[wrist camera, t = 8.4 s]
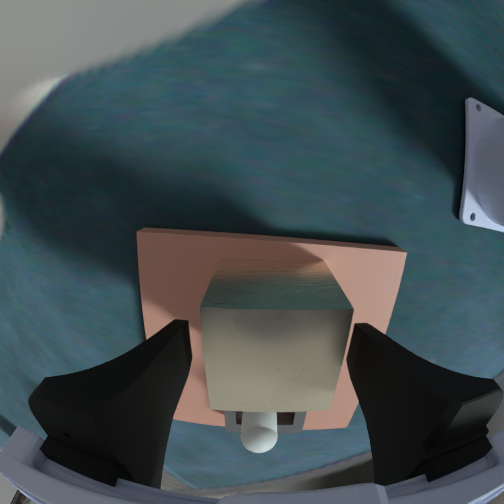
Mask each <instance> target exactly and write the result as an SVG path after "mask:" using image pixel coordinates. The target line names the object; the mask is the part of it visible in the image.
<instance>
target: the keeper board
mask: <svg viewBox="0 0 504 504" xmlns="http://www.w3.org/2000/svg"><path fill="white" fill-rule="evenodd" d="M137 251H138V267H139V280H140V291H141V301H142V310H143V318H144V326H145V333H146V340H147V339H148V338H150V337H151V336H153V335H154V334H155V333H157V332H158V331H159V330H161V329H162V328H163V327H165V326H166V325H167V324H169V323H170V322H171V321H173V320H174V319H181V320H188V321H189V331H190V340H191V348H192V356H193V357H192V362H191V367H190V371H189V376H188V379H187V381H186V384H185V387H184V389H183V392H182V395H181V397H180V400H179V403H178V405H177V408H176V411H175V413H174V417H173V419H175V420H181V421H187V422H193V423H200V424H207V425H215V426H224V427H225V417H224V410H213V409H210V405H209V397H208V389H207V381H206V372H205V363H204V353H203V343H202V332H201V320H200V308H199V307H200V305H201V302H202V300H203V297H204V295H205V293H206V290H207V288H208V286H209V284H210V281H211V279H212V277H213V274H214V272H215V270H216V267H217V265H218V263H219V261H220V258H245V259H289V260H324V261H325V263H326V264H327V266H328V268H329V269H330V271H331V272H332V274H333V275H334V277H335V279H336V280H337V282H338V283H339V285H340V287H341V288H342V290H343V292H344V293H345V295H346V296H347V298H348V300H349V301H350V303H351V305H352V306H353V308H354V313H353V318H352V323H351V328H350V333H349V337H348V342H347V346H346V350H345V355H344V359H343V363H342V367H341V371H340V375H339V378H338V382H337V386H336V389H335V393H334V396H333V400H332V403H331V407H330V410H322V411H307V413H306V418H305V422H304V426H303V430H313V429H333V428H345V427H347V425H348V423H349V421H350V419H351V417H352V415H353V413H354V411H355V409H356V407H357V404H358V402H359V401H358V398H357V395H356V393H355V390H354V387H353V385H352V382H351V379H350V376H349V372H348V367H347V362H346V357H347V353H348V349H349V345H350V341H351V336H352V332H353V328H354V323H369V324H370V325H372V326H373V327H375V328H376V329H378V330H379V331H381V332H382V333H383V334H385V333H386V330H387V327H388V324H389V320H390V317H391V314H392V311H393V307H394V304H395V300H396V296H397V293H398V289H399V285H400V281H401V277H402V273H403V269H404V264H405V260H406V255H407V252H406V251H404V250H403V249H401V248H400V247H393V246H382V245H372V244H361V243H351V242H339V241H328V240H316V239H304V238H292V237H280V236H267V235H254V234H240V233H226V232H211V231H196V230H180V229H164V228H146V227H144V228H142V229H140V230H139V231H137ZM241 441H242V444H243V445H244V446H245V448H247V449H248V450H250V451H252V452H255V453H262V452H266V451H268V450H270V449H271V448H272V447H273V446H274V445H275V444H276V441H277V414H276V412H243V414H242V426H241Z"/></svg>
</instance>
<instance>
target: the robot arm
mask: <svg viewBox="0 0 504 504" xmlns="http://www.w3.org/2000/svg"><path fill="white" fill-rule="evenodd" d="M476 106H477V108H478V110H477V108H476ZM465 111H466V150H465V168H464V180H463V190H462V198H461V206H460V212H459V218H460V221H461V222H463V223H465V224H469V225H474V226H479V227H483V228H488V229H492V230H497V231H501V232H504V115H502V114H500V113H499V112H497V111H495V110H494V109H492V108H490V107H488V106H487V105H485V104H483V103H481V102H479V101H478V100H476V99H474V98H467V99H466V100H465ZM471 214H472V217H471V219H470V216H471ZM192 357H193V356H192V348H191V340H190V331H189V321H188V320H181V319H174V320H173V321H171V322H170V323H169V324H167V325H166V326H165V327H163V328H162V329H161V330H159V331H158V332H157V333H155V334H154V335H153V336H151V337H150V338H148V339H147V340H146V341H144V342H142V343H141V344H139V345H138V346H136V347H135V348H133V349H132V350H130V351H128V352H126V353H125V354H123V355H121V356H119V357H117V358H115V359H113V360H110V361H108V362H106V363H103V364H100V365H98V366H95V367H93V368H90V369H86V370H83V371H79V372H75V373H71V374H66V375H60V376H53V377H45V378H44V380H43V381H42V382H41V383H40V384H39V386H38V387H37V388H36V389H35V391H34V392H33V393H32V394H31V395H30V397H29V400H28V403H29V406H30V409H31V411H32V413H33V415H34V416H35V418H36V419H37V421H38V422H39V424H40V425H41V427H42V428H43V430H44V431H45V432H46V434H47V435H48V437H47V438H46V440H45V441H44V440H43V439H42V438H40V437H39V436H38V435H36V434H34V433H32V432H31V431H29V430H27V429H25V428H24V427H22V426H18V427H17V428H16V430H15V431H14V433H13V434H12V435H11V437H10V438H9V440H8V441H7V443H6V444H5V446H4V447H3V449H2V450H1V451H0V474H1V475H2V476H3V477H4V478H5V479H7V480H8V481H9V482H10V483H11V484H12V485H13V486H14V487H16V488H17V489H18V490H19V491H20V492H21V493H23V494H24V495H25V496H26V497H28V498H29V499H31V500H32V501H34V502H35V503H37V504H486V503H487V502H488V501H490V500H492V499H493V498H495V497H496V496H498V495H499V494H500V493H501V492H502V491H504V430H502V431H500V432H499V433H497V434H495V435H494V436H492V437H491V438H490V439H489V440H488V439H487V437H486V435H487V434H488V432H489V431H488V428H487V427H486V424H487V423H488V422H489V420H490V419H491V417H492V416H493V415H494V413H495V412H496V410H497V409H498V407H499V405H500V404H501V401H502V399H503V391H502V389H501V388H500V387H499V386H498V384H497V383H496V382H495V381H494V380H493V379H487V378H480V377H474V376H469V375H465V374H461V373H458V372H454V371H451V370H448V369H446V368H443V367H440V366H438V365H435V364H433V363H431V362H429V361H427V360H425V359H423V358H421V357H419V356H417V355H415V354H414V353H412V352H410V351H409V350H407V349H405V348H404V347H402V346H401V345H399V344H398V343H396V342H395V341H393V340H392V339H391V338H389V337H388V336H386V335H385V334H383V333H382V332H381V331H379V330H378V329H376V328H375V327H373V326H372V325H370V324H369V323H354V328H353V332H352V336H351V341H350V345H349V349H348V353H347V357H346V362H347V367H348V372H349V376H350V379H351V382H352V385H353V387H354V390H355V393H356V395H357V398H358V401H359V403H360V406H361V409H362V411H363V414H364V417H365V421H366V425H367V429H368V434H369V439H370V445H371V451H372V458H373V466H374V476H375V477H374V479H375V483H365V484H355V485H349V486H343V487H337V488H330V489H320V490H310V491H297V492H256V493H238V494H234V495H229V496H225V497H223V498H221V499H217V498H208V497H200V496H193V495H187V494H181V493H176V492H171V491H166V490H161V489H160V486H161V478H162V470H163V464H164V458H165V452H166V447H167V442H168V437H169V432H170V428H171V424H172V420H173V417H174V413H175V411H176V408H177V405H178V403H179V400H180V397H181V395H182V392H183V389H184V387H185V384H186V381H187V379H188V376H189V371H190V367H191V362H192Z"/></svg>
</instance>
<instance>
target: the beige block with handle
mask: <svg viewBox="0 0 504 504" xmlns="http://www.w3.org/2000/svg"><path fill="white" fill-rule="evenodd" d="M199 308H200V320H201V332H202V343H203V353H204V363H205V372H206V381H207V389H208V397H209V405H210V409H213V410H224V417H225V428H226V432H234V433H241V426H242V414H243V412H276V414H277V434H284V433H302V430H303V426H304V422H305V418H306V413H307V411H322V410H330V407H331V403H332V400H333V396H334V393H335V389H336V386H337V382H338V378H339V375H340V371H341V367H342V363H343V359H344V355H345V350H346V346H347V342H348V337H349V333H350V328H351V323H352V318H353V313H354V308H353V306H352V305H351V303H350V301H349V300H348V298H347V296H346V295H345V293H344V292H343V290H342V288H341V287H340V285H339V283H338V282H337V280H336V279H335V277H334V275H333V274H332V272H331V271H330V269H329V268H328V266H327V264H326V263H325V261H324V260H289V259H245V258H220V261H219V263H218V265H217V267H216V270H215V272H214V274H213V277H212V279H211V281H210V284H209V286H208V288H207V290H206V293H205V295H204V297H203V300H202V302H201V305H200V307H199Z"/></svg>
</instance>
